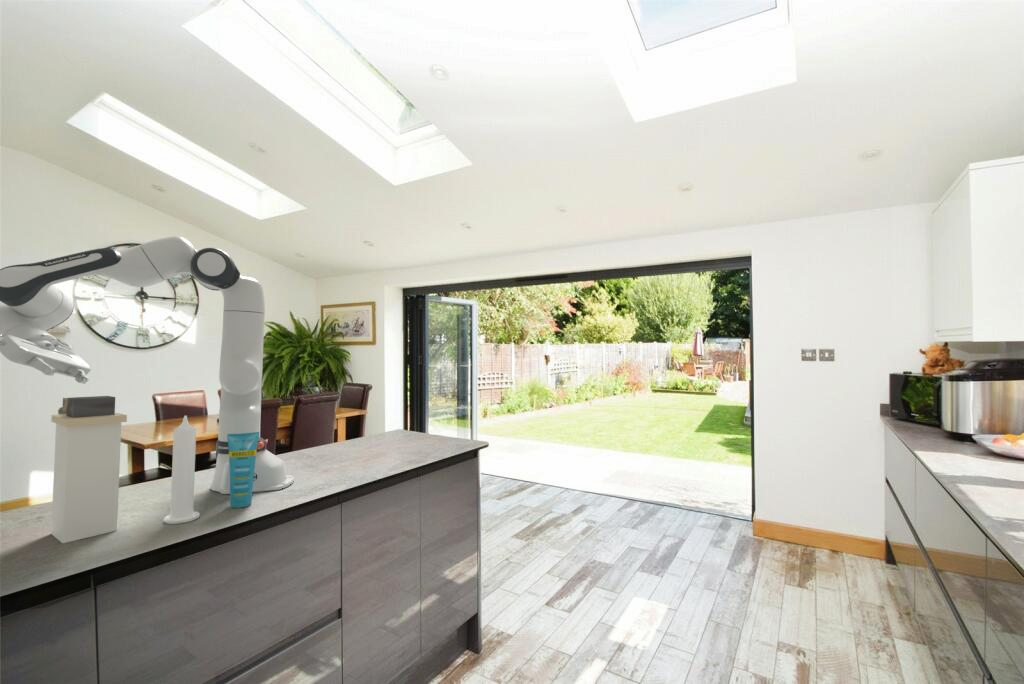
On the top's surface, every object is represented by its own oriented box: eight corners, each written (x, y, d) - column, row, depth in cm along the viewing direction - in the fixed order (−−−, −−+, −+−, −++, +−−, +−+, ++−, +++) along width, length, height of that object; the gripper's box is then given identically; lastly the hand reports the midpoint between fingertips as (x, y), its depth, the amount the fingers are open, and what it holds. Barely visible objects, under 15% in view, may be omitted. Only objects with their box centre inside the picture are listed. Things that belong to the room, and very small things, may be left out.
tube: (224, 510, 119) (227, 435, 120) (224, 505, 123) (226, 432, 124) (257, 505, 123) (260, 432, 124) (256, 500, 127) (258, 430, 128)
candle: (195, 512, 117) (199, 412, 118) (202, 519, 112) (205, 415, 113) (161, 518, 112) (165, 415, 113) (166, 526, 107) (170, 418, 108)
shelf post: (46, 532, 103) (51, 414, 103) (104, 520, 111) (109, 410, 112) (61, 545, 96) (66, 419, 97) (122, 531, 104) (126, 415, 105)
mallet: (89, 408, 115) (90, 392, 115) (114, 414, 105) (115, 397, 105) (50, 411, 109) (51, 394, 110) (73, 417, 99) (73, 399, 99)
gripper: (0, 322, 107) (41, 356, 105) (74, 346, 126) (110, 376, 125) (-25, 343, 105) (17, 378, 103) (55, 364, 125) (91, 394, 123)
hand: (68, 377), depth 114 cm, fingers open, 8 cm apart
